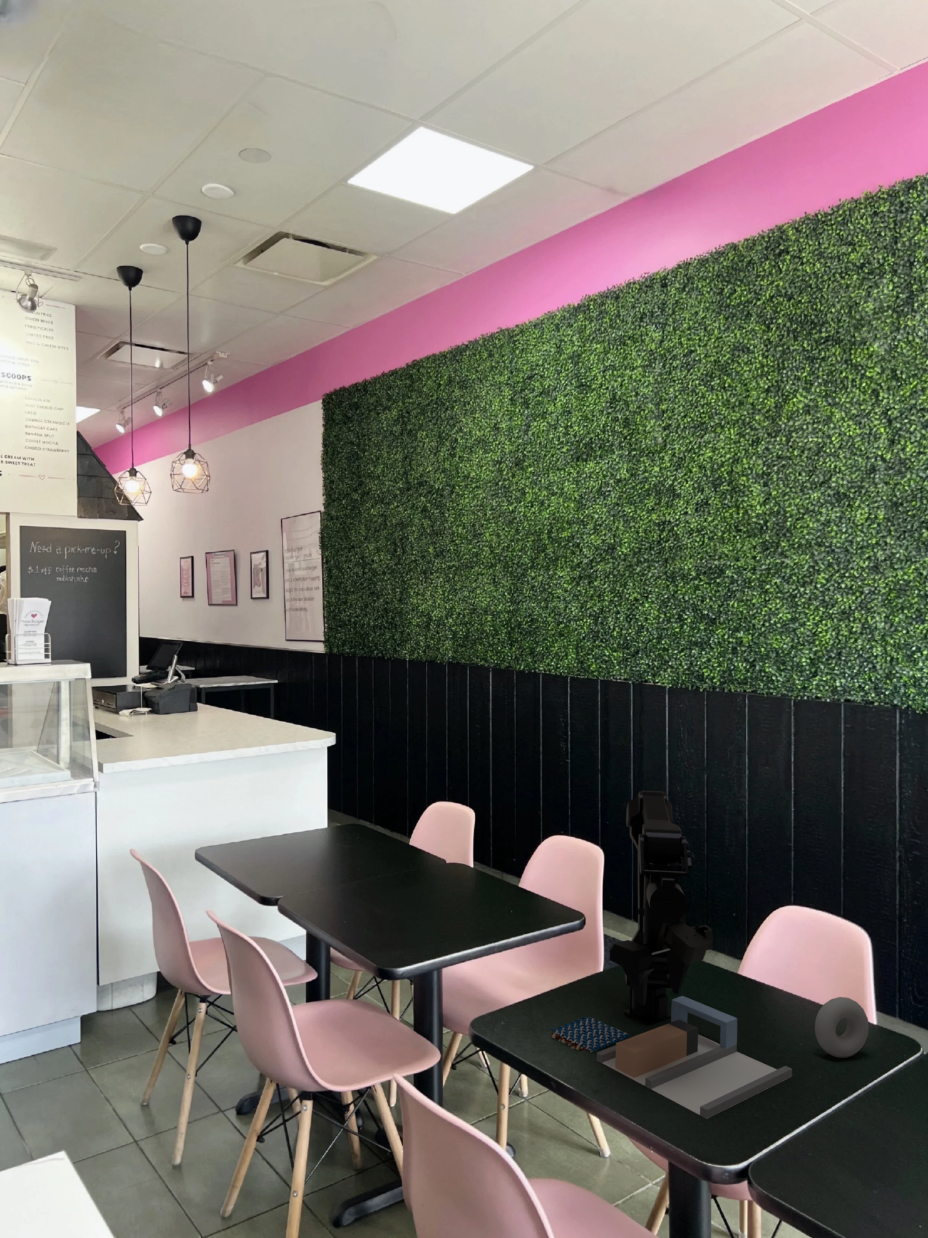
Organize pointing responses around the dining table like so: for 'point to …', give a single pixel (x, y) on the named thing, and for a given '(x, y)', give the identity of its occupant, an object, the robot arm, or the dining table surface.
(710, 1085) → the grey tray
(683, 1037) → the two-tone brown block
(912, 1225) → the dining table surface
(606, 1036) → the woven mat
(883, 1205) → the dining table surface
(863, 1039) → the donut
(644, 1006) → the robot arm
